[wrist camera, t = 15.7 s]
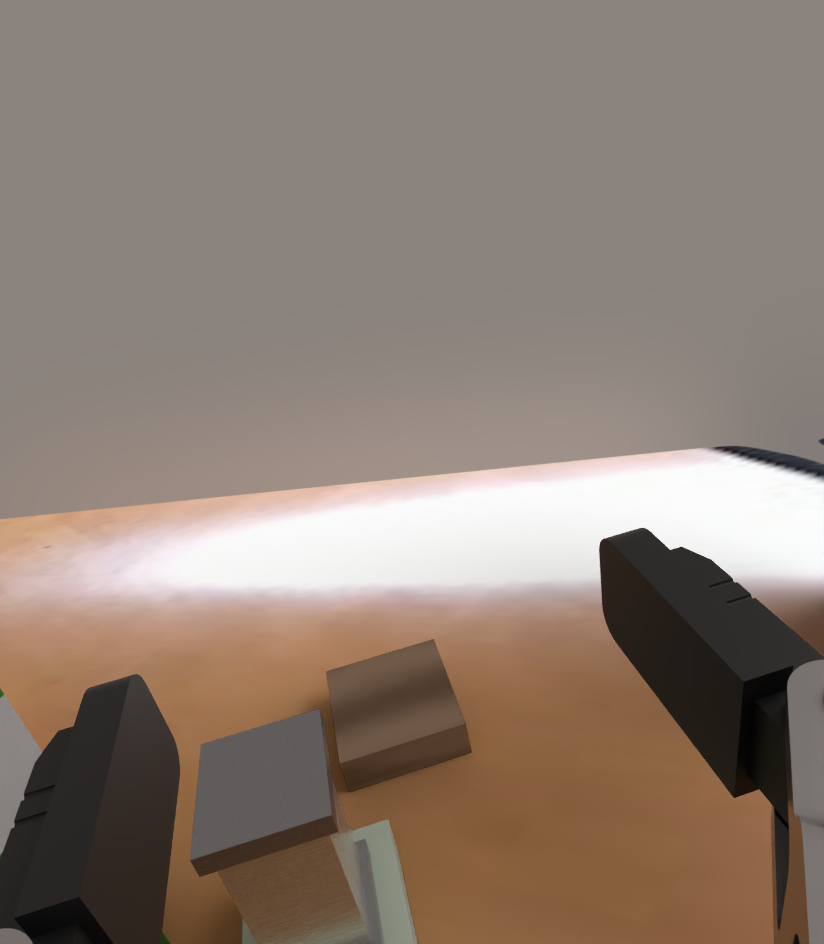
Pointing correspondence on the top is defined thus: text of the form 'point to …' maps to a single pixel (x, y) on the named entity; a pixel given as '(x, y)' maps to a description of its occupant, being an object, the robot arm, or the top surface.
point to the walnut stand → (395, 715)
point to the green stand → (381, 886)
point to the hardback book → (15, 768)
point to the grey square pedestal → (283, 837)
